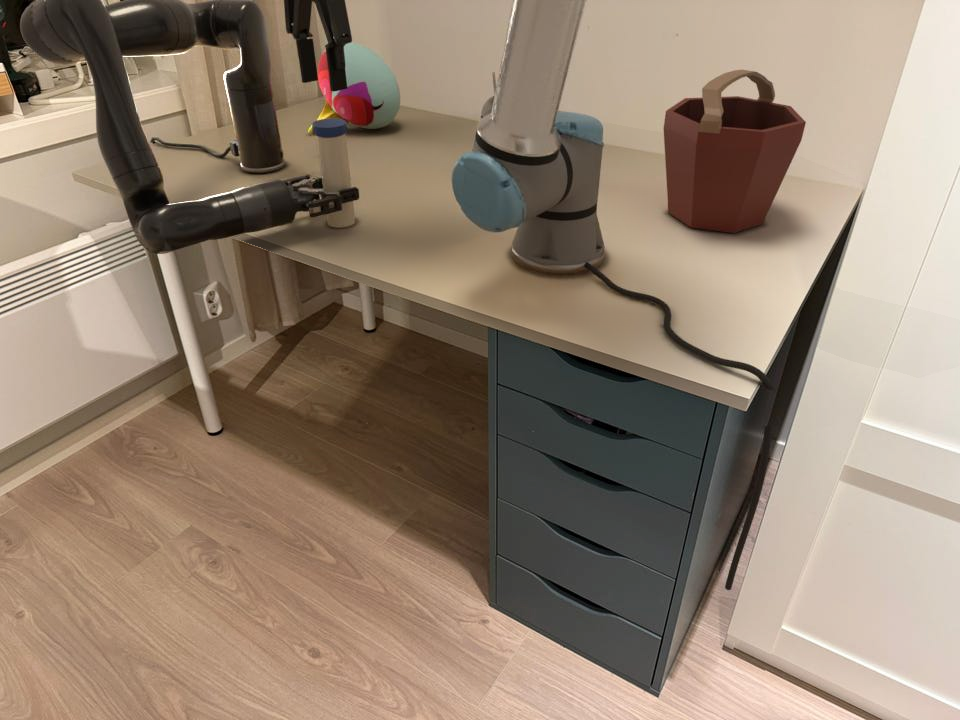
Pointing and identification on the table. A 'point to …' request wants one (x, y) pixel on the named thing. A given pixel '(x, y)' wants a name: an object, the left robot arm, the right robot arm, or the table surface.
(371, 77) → the toy
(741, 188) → the bucket
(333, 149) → the jar
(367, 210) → the table surface
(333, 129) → the lid
